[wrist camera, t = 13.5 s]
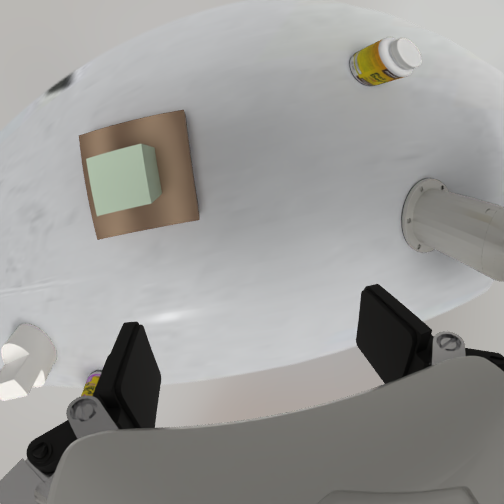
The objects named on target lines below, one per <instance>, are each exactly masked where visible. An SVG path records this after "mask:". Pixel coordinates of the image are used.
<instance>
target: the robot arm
mask: <svg viewBox="0 0 504 504" xmlns="http://www.w3.org/2000/svg"><path fill="white" fill-rule="evenodd" d="M402 229H403V234H404V237H405V239H406V241H407V243H408V244H409V246H410V247H411V248H412V249H414V250H416V251H418V252H421V253H427V252H431V251H433V250H437V251H439V252H441V253H443V254H446V255H448V256H450V257H452V258H454V259H456V260H458V261H460V262H461V263H463V264H465V265H467V266H469V267H471V268H473V269H475V270H477V271H479V272H481V273H482V274H484V275H486V276H488V277H490V278H492V279H494V280H497V281H504V207H502V206H499V205H496V204H492V203H489V202H486V201H482V200H478V199H475V198H471V197H467V196H464V195H460V194H456V193H452V192H449V191H448V189H447V187H446V186H445V185H444V184H443V183H442V182H441V181H439V180H436V179H431V178H430V179H424V180H421V181H420V182H418V183H417V184H416V185H415V186H414V187H413V188H412V190H411V191H410V193H409V195H408V197H407V199H406V201H405V205H404V208H403V214H402ZM431 332H432V330H431V329H430V328H429V327H428V326H427V325H426V324H425V323H424V322H422V321H421V320H420V319H419V318H418V317H417V316H416V315H414V314H413V313H412V312H411V311H410V310H409V309H407V308H406V307H405V306H404V305H403V304H402V303H400V302H399V301H398V300H397V299H396V298H394V297H393V296H392V295H391V294H390V293H388V292H387V291H386V290H385V289H384V288H382V287H381V286H380V285H378V284H375V285H371V286H366V287H365V289H364V290H363V291H362V293H361V302H360V312H359V321H358V329H357V337H356V343H357V346H358V348H359V349H360V350H361V352H362V353H363V354H364V356H365V357H366V358H367V360H368V361H369V362H370V364H371V365H372V366H373V368H374V369H375V371H376V372H377V373H378V375H379V376H380V378H381V379H382V380H383V382H384V383H385V384H384V385H381V386H378V387H375V388H373V389H370V390H367V391H364V392H361V393H358V394H355V395H352V396H349V397H345V398H342V399H338V400H335V401H331V402H328V403H324V404H320V405H317V406H313V407H308V408H304V409H300V410H296V411H291V412H286V413H282V414H277V415H271V416H266V417H260V418H255V419H248V420H241V421H234V422H227V423H218V424H208V425H197V426H184V427H165V428H155V420H156V412H157V405H158V397H159V391H160V384H161V374H160V371H159V368H158V366H157V363H156V360H155V358H154V355H153V352H152V350H151V347H150V344H149V341H148V338H147V335H146V332H145V329H144V327H143V325H139V323H138V322H127V323H124V324H123V326H122V328H121V330H120V333H119V335H118V337H117V340H116V342H115V344H114V347H113V349H112V351H111V354H110V355H109V356H108V358H107V360H106V362H105V365H104V367H103V370H102V372H101V375H100V377H99V380H98V382H97V385H96V388H95V390H94V393H93V396H88V395H87V396H81V397H79V398H76V399H75V400H74V401H72V402H71V403H70V404H69V406H68V408H67V413H66V414H67V418H68V420H67V421H65V422H64V423H62V424H60V425H59V426H57V427H55V428H53V429H52V430H50V431H48V432H46V433H45V434H43V435H41V436H39V437H38V438H36V439H35V440H33V441H32V442H31V443H30V444H29V446H28V449H27V458H28V459H27V460H26V461H25V460H24V459H21V460H20V461H19V462H18V463H17V465H16V466H15V467H13V468H12V469H11V471H9V473H8V474H6V475H5V476H4V478H3V479H2V480H1V481H0V503H1V504H504V357H503V356H502V355H501V354H499V353H495V352H488V351H481V350H475V349H468V348H465V344H464V341H463V339H462V338H461V337H460V336H458V335H457V334H455V333H452V332H440V333H438V334H436V335H435V336H434V337H433V336H432V335H431Z"/></svg>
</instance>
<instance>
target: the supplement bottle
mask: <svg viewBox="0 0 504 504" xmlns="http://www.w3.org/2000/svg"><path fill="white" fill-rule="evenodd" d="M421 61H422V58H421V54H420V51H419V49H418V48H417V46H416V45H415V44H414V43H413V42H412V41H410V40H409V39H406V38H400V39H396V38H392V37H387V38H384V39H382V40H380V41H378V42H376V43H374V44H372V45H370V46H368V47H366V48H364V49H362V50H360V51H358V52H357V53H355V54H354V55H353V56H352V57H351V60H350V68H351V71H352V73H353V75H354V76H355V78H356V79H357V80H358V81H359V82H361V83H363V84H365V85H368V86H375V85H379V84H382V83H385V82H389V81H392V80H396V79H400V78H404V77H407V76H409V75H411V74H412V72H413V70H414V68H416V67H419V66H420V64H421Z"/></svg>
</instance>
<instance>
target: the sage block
mask: <svg viewBox="0 0 504 504" xmlns="http://www.w3.org/2000/svg"><path fill="white" fill-rule="evenodd" d="M86 161H87V168H88V174H89V179H90V185H91V190H92V195H93V200H94V205H95V210H96V214H97V216H100V215H104V214H108V213H112V212H116V211H120V210H125V209H129V208H134V207H138V206H143V205H147V204H151V203H152V202H154V201H155V200H156V199H157V198H158V197H159V196H160V195H161V194H162V190H161V185H160V179H159V173H158V167H157V160H156V154H155V148H154V147H151V146H148V145H144V144H138V145H133V146H129V147H126V148H122V149H118V150H114V151H111V152H107V153H104V154H100V155H97V156H94V157H90V158H87V159H86Z"/></svg>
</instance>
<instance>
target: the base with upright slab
mask: <svg viewBox="0 0 504 504" xmlns="http://www.w3.org/2000/svg"><path fill="white" fill-rule="evenodd" d="M1 355H2V358H3V361H4V363H5V365H4V366H3V368H2V369H1V371H0V399H1V400H2V401H5V400H10V399H14V398H19V397H23V396H27V395H28V394H29V392H30V390H31V388H32V387H35V388H36V387H41V386H43V384H44V383H45V381H46V379H47V377H48V375H49V373H50V371H51V369H52V367H53V365H54V363H55V361H56V359H57V352H56V349H55V346H54V344H53V342H52V341H51V339H50V338H49V337H48V336H47V334H46V333H44V332H43V331H42V330H41V329H40V328H38V327H36V326H35V325H32V324H27V323H24V324H21V325H20V326H19V327H18V328H17V329H16V330H15V331H14V333H13V334H12V335H11V336H10V338H9V339H8V340H7V341H6V343H5V344H4V345H3V347H2V350H1Z"/></svg>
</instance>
